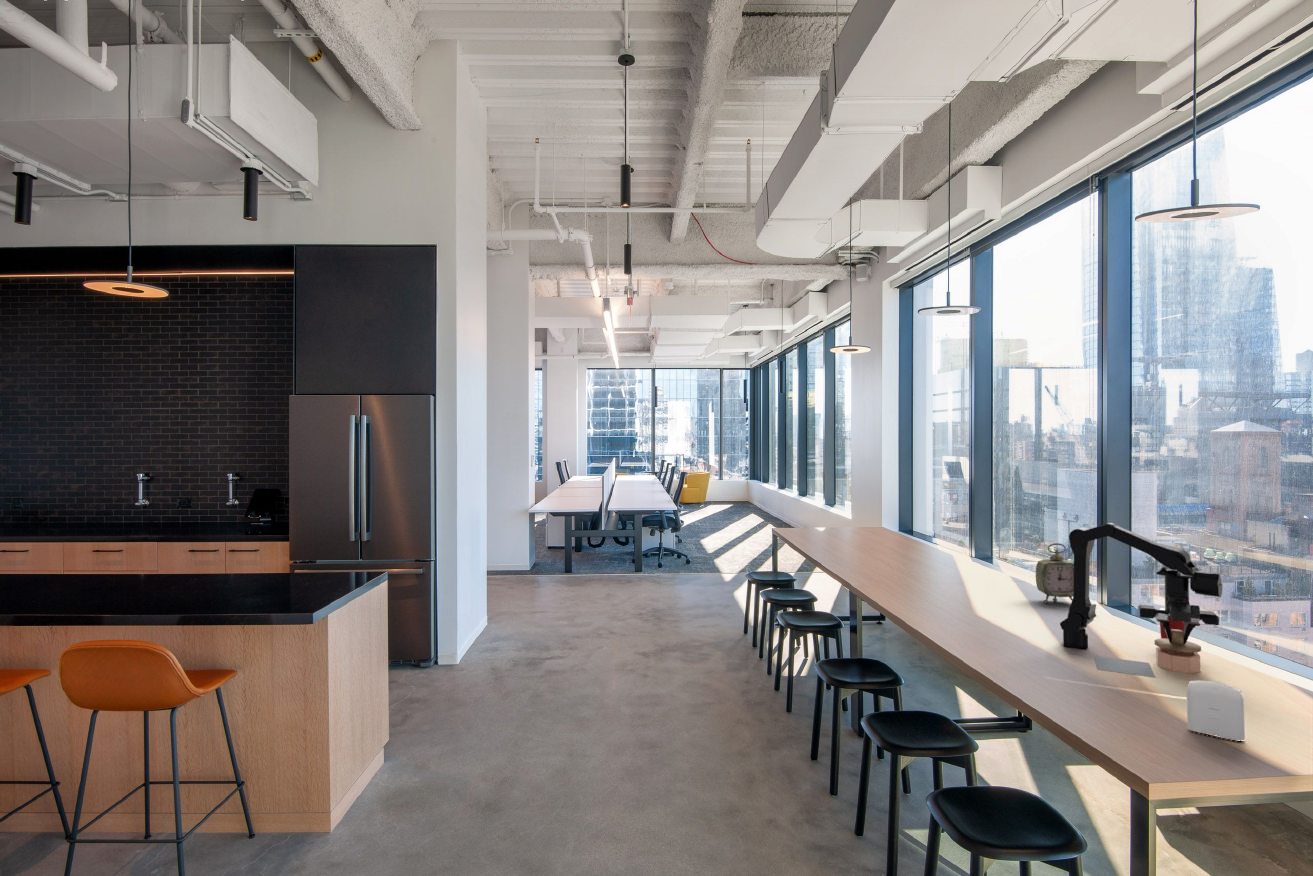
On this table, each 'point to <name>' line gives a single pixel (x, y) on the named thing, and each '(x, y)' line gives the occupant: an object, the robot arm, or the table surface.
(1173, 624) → the paper cup
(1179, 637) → the lid
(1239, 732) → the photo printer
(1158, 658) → the bowl
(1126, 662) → the mat
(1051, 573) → the tabletop clock
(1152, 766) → the table surface
